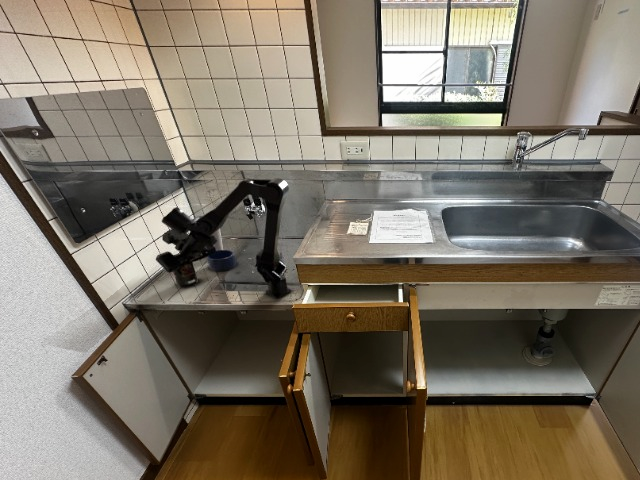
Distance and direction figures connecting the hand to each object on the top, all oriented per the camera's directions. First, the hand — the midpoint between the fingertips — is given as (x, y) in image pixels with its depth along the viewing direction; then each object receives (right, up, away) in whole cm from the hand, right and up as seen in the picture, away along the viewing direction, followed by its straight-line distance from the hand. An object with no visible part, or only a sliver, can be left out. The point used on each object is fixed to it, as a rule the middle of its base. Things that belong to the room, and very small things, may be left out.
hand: (179, 266), depth 115 cm
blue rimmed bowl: (+6, +2, +17) cm, 18 cm away
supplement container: (+1, -6, +3) cm, 7 cm away
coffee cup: (-1, +7, +25) cm, 26 cm away
